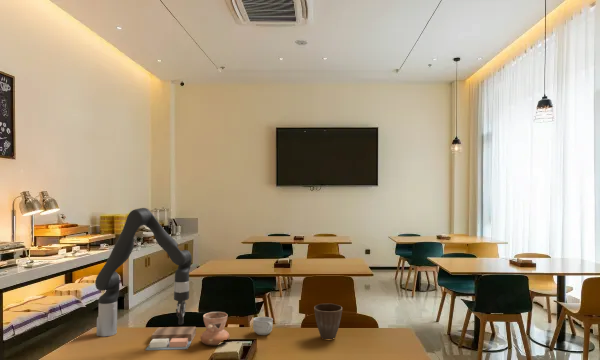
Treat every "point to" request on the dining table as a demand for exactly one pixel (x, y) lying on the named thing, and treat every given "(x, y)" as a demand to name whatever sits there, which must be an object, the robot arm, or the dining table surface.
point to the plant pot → (328, 319)
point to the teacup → (262, 325)
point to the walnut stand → (174, 333)
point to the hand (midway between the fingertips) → (180, 324)
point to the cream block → (159, 343)
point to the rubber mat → (169, 347)
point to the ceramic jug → (214, 328)
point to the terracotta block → (178, 342)
